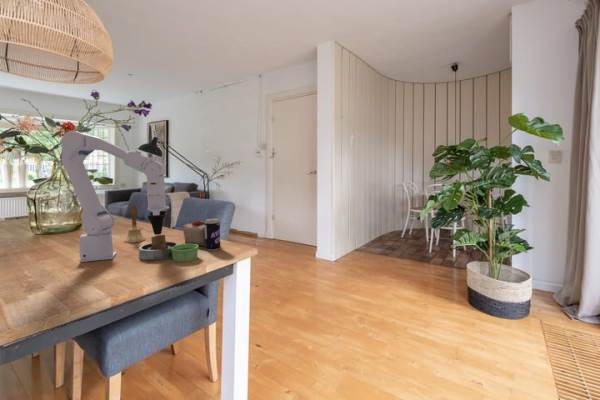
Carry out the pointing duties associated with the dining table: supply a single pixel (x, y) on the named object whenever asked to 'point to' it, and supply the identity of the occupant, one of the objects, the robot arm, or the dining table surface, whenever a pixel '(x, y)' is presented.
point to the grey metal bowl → (156, 252)
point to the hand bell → (134, 229)
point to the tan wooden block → (158, 242)
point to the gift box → (195, 233)
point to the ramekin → (185, 252)
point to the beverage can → (212, 234)
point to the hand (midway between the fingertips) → (158, 232)
